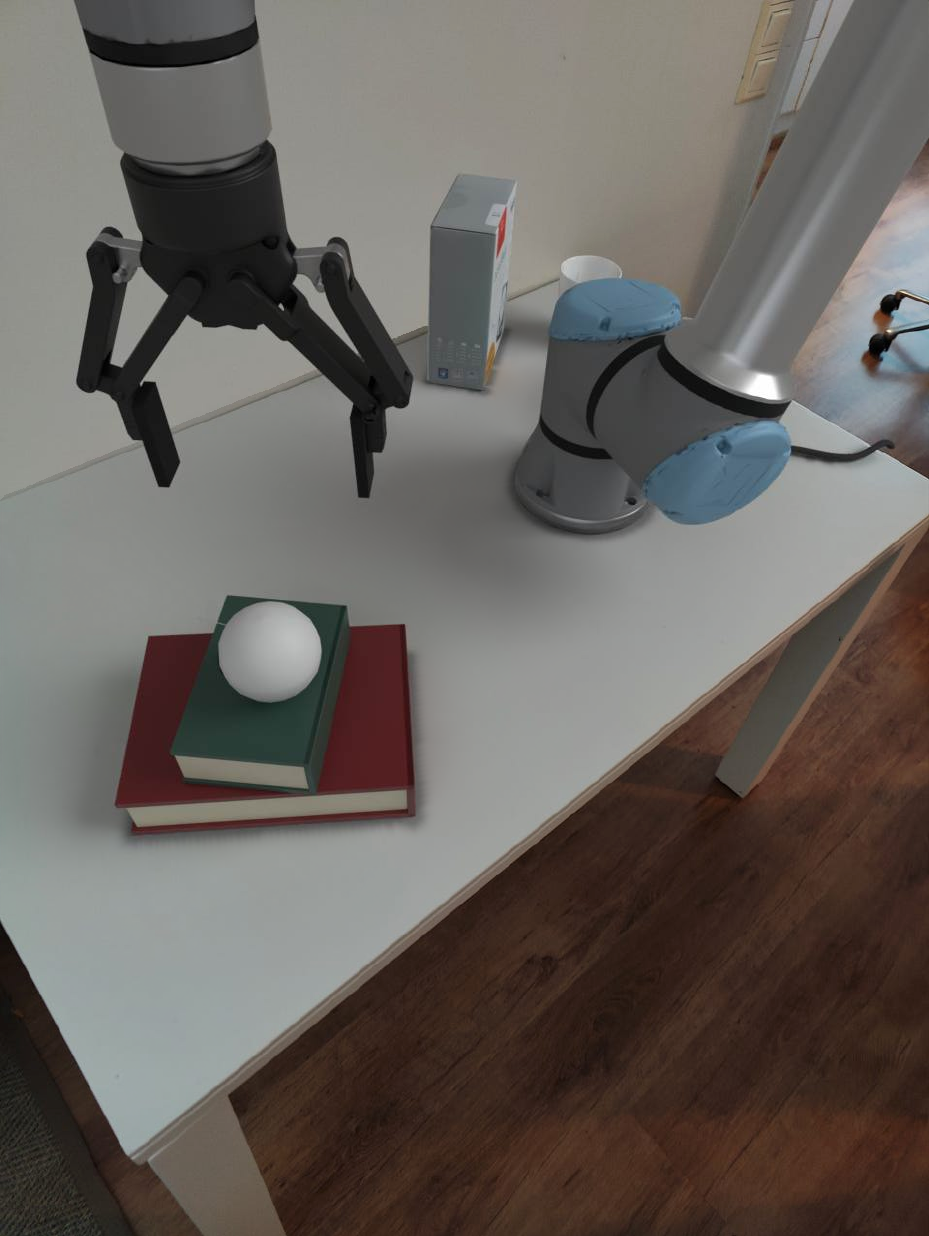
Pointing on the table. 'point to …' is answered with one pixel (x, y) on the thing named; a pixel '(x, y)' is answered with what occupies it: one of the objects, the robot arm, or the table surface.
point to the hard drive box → (469, 279)
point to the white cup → (585, 271)
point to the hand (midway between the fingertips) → (267, 480)
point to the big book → (348, 790)
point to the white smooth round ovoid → (269, 651)
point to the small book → (263, 715)
